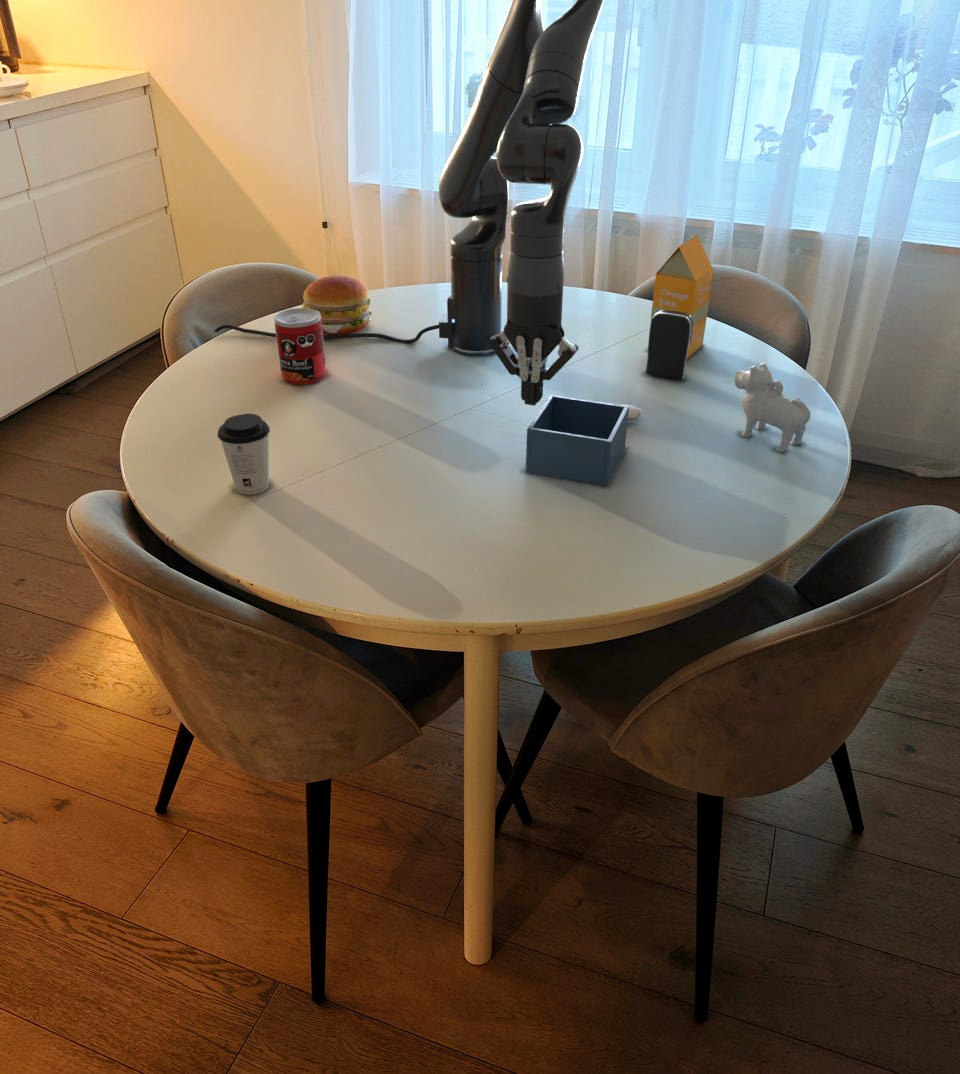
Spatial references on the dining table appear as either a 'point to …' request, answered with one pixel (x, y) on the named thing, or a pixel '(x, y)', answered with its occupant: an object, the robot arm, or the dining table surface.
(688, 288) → the orange juice
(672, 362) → the battery charger
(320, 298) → the burger
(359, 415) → the dining table surface
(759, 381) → the dog figurine
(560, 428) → the blue open box
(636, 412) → the cream rounded dome
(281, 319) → the canned food
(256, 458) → the coffee cup
